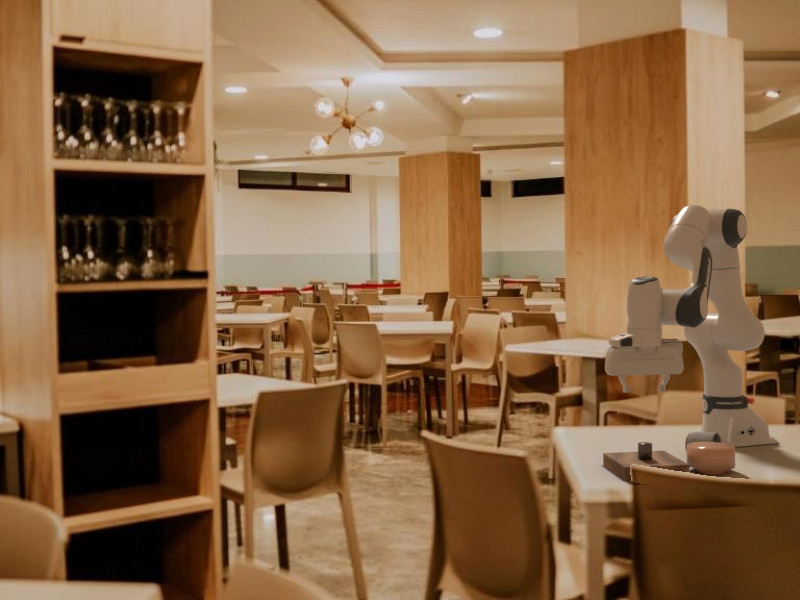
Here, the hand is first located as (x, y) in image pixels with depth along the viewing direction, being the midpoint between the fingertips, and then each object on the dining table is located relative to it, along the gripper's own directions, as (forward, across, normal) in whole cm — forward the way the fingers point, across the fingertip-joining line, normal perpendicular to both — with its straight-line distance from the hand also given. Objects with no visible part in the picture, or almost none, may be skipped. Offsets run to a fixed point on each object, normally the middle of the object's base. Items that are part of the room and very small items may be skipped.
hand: (644, 391), depth 242 cm
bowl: (+22, -17, +2) cm, 28 cm away
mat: (+22, 0, 0) cm, 22 cm away
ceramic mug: (+22, -22, -14) cm, 34 cm away
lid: (+21, 0, 0) cm, 21 cm away
